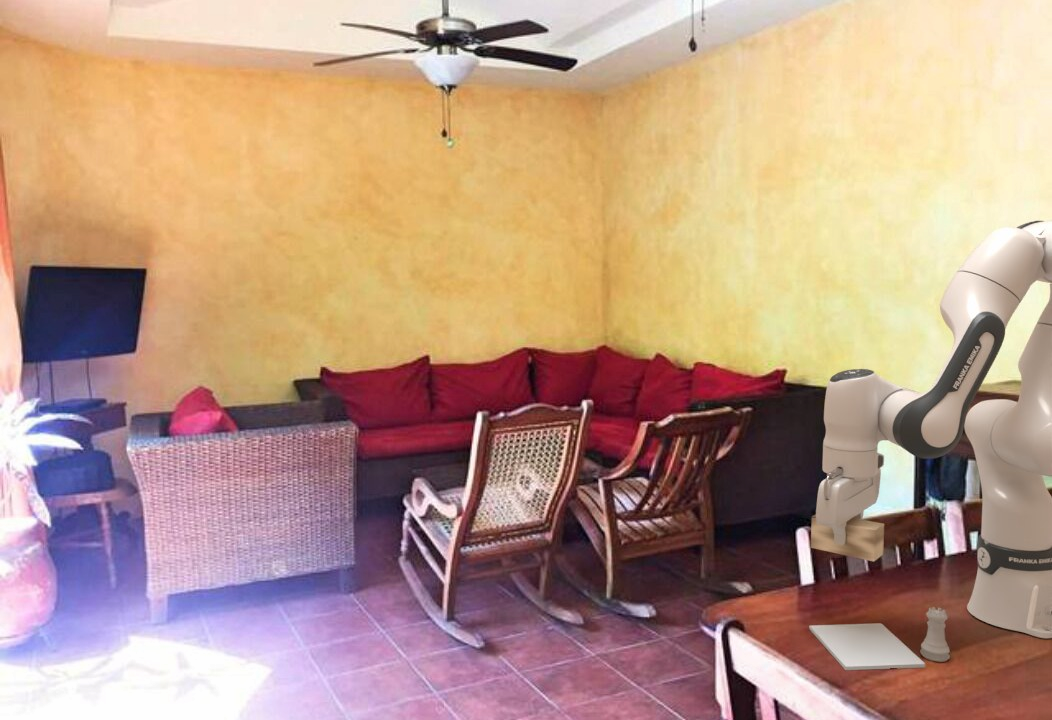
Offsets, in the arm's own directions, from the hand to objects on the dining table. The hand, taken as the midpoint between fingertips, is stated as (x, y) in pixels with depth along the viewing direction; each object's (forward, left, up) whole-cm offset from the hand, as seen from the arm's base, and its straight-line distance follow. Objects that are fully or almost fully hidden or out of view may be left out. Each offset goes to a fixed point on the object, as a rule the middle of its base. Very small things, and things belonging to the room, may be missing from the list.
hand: (846, 539), depth 145 cm
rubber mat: (0, +8, -16) cm, 18 cm away
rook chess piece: (-10, +12, -16) cm, 23 cm away
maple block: (0, 0, -2) cm, 2 cm away
